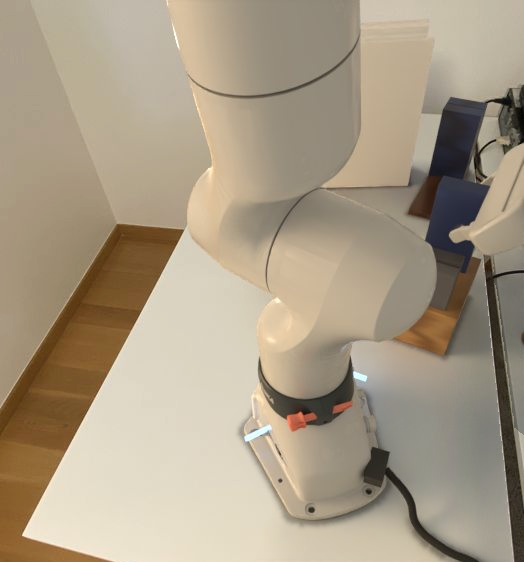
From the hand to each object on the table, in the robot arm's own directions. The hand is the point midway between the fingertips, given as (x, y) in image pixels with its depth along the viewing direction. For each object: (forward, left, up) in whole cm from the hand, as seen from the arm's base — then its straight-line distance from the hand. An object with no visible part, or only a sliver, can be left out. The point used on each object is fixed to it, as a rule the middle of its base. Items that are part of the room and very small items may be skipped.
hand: (462, 215), depth 71 cm
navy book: (0, 0, -9) cm, 9 cm away
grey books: (-5, +6, -9) cm, 12 cm away
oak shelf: (-2, +3, -18) cm, 19 cm away
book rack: (+26, -15, -18) cm, 35 cm away
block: (+40, +5, -19) cm, 45 cm away
